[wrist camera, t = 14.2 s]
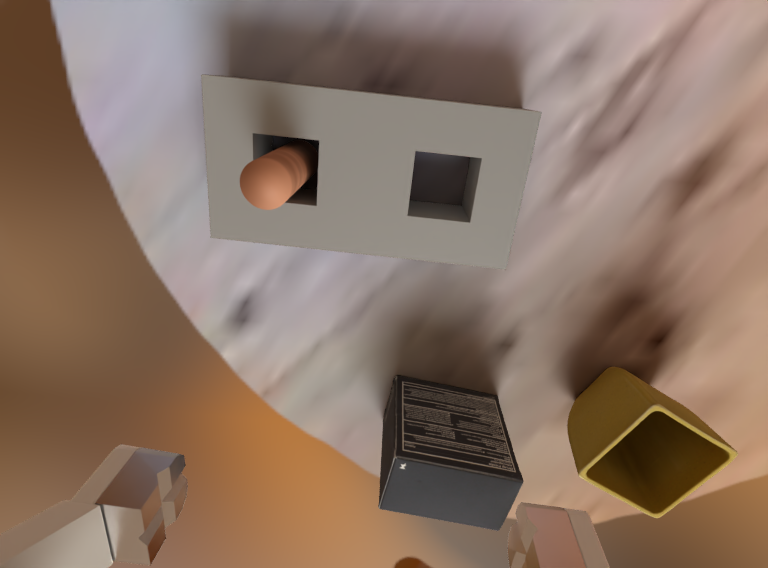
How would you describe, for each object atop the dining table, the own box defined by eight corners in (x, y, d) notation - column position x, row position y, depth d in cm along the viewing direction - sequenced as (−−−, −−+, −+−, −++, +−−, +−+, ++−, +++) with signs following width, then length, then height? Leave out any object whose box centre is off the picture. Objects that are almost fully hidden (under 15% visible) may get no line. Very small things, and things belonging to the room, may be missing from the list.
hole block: (522, 108, 33) (541, 112, 29) (493, 247, 38) (505, 269, 33) (228, 76, 33) (201, 74, 29) (234, 219, 38) (210, 237, 33)
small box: (380, 424, 46) (374, 513, 36) (394, 372, 43) (392, 453, 34) (480, 444, 47) (500, 536, 37) (499, 394, 44) (526, 480, 34)
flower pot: (544, 404, 44) (576, 477, 36) (606, 340, 41) (657, 403, 33) (611, 443, 46) (657, 521, 38) (676, 383, 43) (742, 454, 34)
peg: (320, 142, 35) (290, 161, 26) (318, 180, 36) (289, 212, 27) (281, 138, 35) (238, 156, 26) (281, 176, 36) (240, 207, 27)
